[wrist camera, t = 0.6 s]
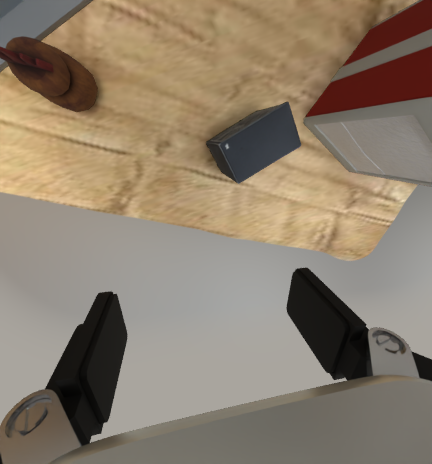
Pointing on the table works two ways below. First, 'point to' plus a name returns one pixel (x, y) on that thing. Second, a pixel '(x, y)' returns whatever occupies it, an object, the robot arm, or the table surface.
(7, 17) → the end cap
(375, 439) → the robot arm
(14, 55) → the wooden figurine
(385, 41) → the red striped mailbox
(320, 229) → the table surface
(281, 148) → the small box
